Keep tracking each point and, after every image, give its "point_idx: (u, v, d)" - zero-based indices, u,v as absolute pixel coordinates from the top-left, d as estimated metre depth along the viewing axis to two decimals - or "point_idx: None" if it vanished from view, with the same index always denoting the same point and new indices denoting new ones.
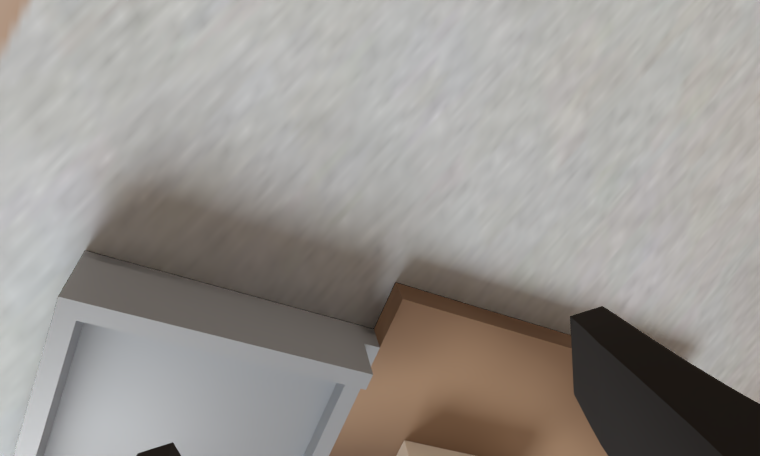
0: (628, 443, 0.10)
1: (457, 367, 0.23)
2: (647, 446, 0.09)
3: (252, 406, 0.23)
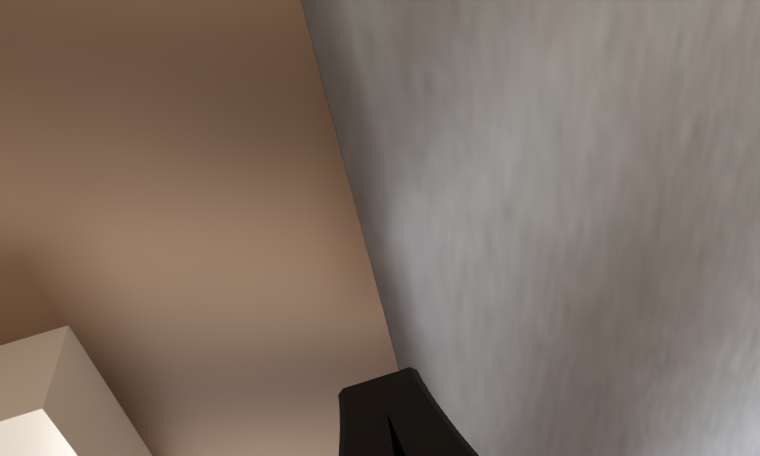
0: None
1: None
2: None
3: None
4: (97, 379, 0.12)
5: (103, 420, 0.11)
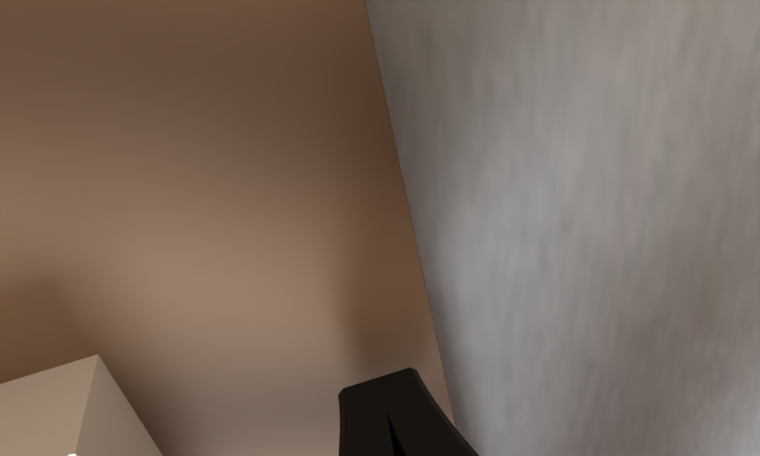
0: None
1: None
2: None
3: None
4: (128, 411, 0.11)
5: None
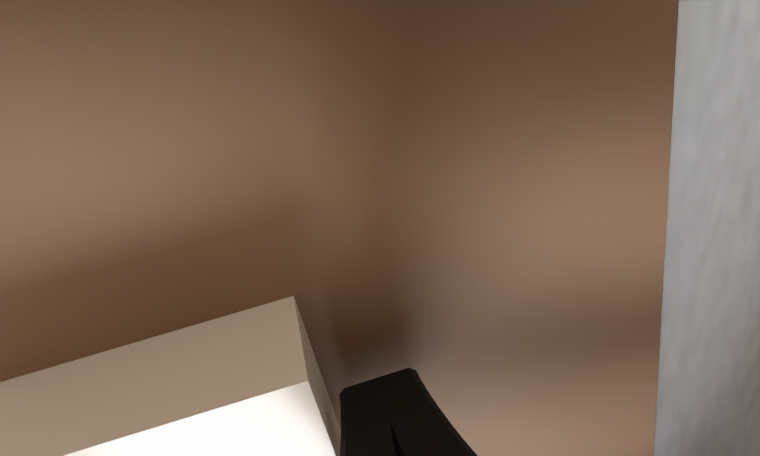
0: None
1: None
2: None
3: None
4: (313, 354, 0.11)
5: (324, 398, 0.11)
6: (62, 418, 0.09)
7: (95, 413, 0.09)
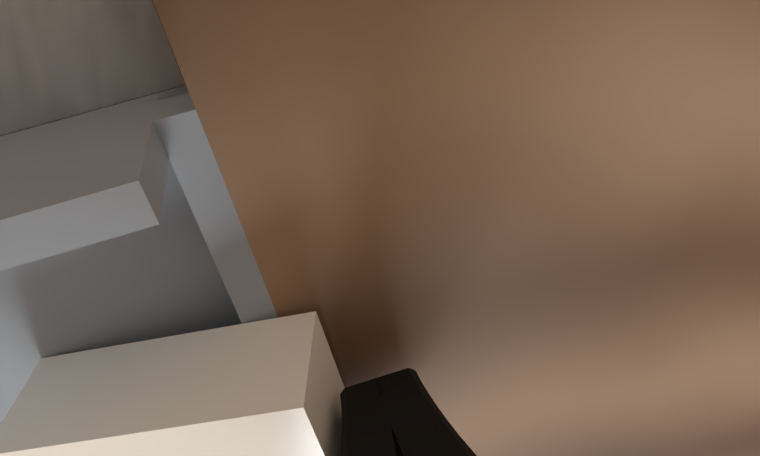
0: None
1: (410, 47, 0.09)
2: None
3: None
4: (334, 370, 0.11)
5: (339, 415, 0.11)
6: (85, 404, 0.10)
7: (112, 404, 0.10)
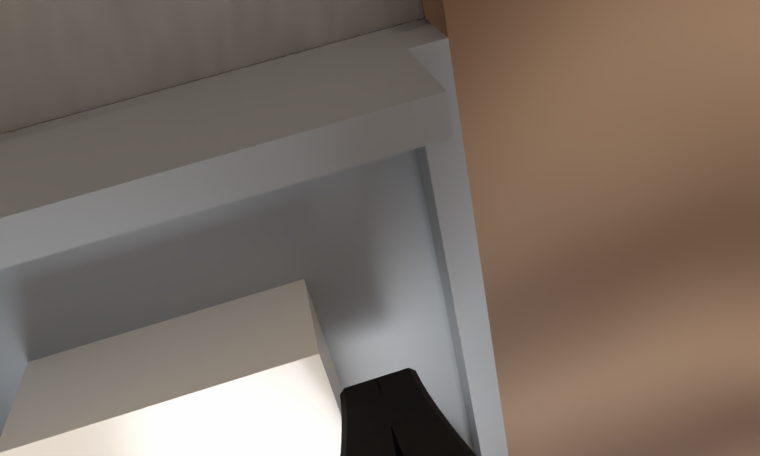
0: None
1: None
2: None
3: None
4: (322, 334, 0.12)
5: (333, 374, 0.12)
6: (94, 390, 0.10)
7: (124, 385, 0.10)
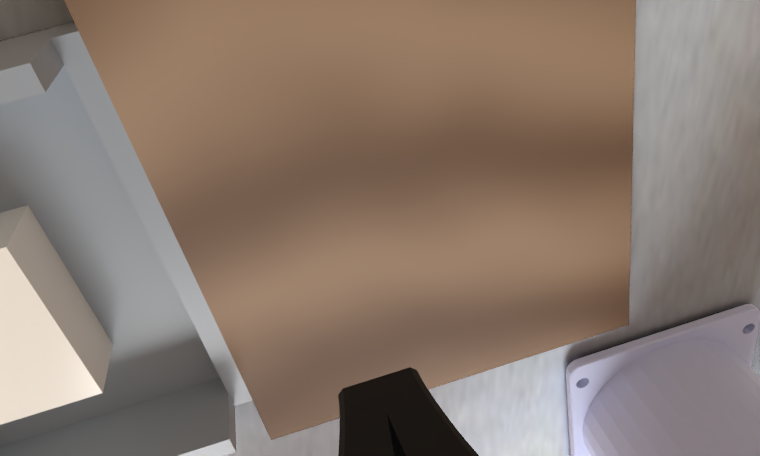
0: None
1: None
2: None
3: (34, 211, 0.16)
4: (49, 247, 0.17)
5: (53, 274, 0.16)
6: None
7: None
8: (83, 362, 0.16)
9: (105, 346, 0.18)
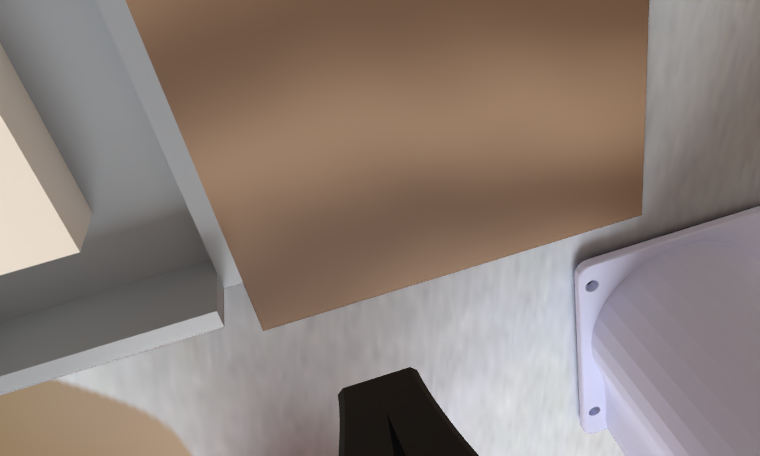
0: None
1: None
2: None
3: (5, 46, 0.15)
4: (22, 89, 0.15)
5: (25, 116, 0.15)
6: None
7: None
8: (57, 213, 0.15)
9: (84, 211, 0.17)
